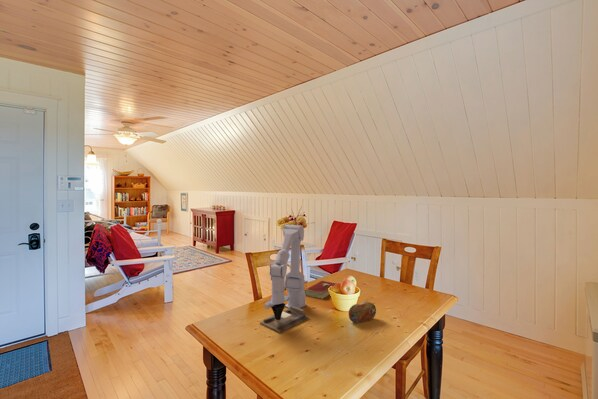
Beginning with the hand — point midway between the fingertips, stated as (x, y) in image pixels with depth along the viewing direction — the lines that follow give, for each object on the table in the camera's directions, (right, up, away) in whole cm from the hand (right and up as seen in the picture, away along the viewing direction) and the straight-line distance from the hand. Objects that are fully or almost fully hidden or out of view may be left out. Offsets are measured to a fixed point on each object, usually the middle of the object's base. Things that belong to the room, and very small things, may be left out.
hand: (277, 319), depth 135 cm
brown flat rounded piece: (+40, -3, +5) cm, 40 cm away
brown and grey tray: (+3, -2, +4) cm, 5 cm away
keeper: (+2, -2, +3) cm, 4 cm away
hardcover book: (+24, -2, +44) cm, 50 cm away
